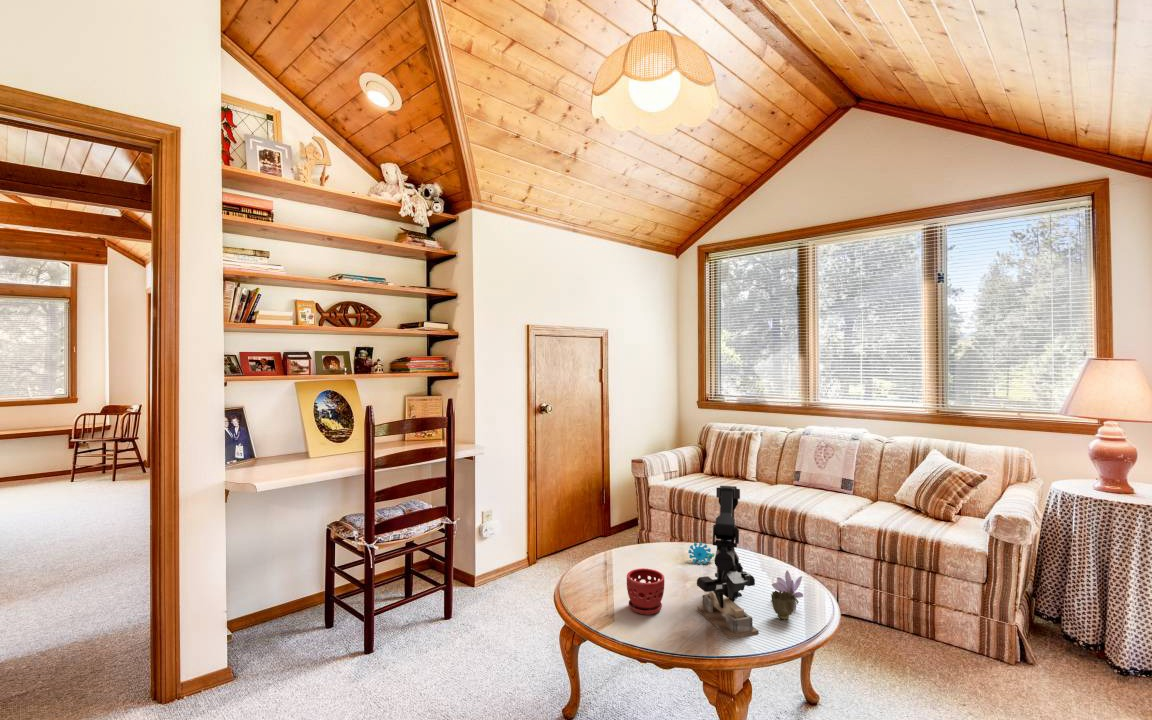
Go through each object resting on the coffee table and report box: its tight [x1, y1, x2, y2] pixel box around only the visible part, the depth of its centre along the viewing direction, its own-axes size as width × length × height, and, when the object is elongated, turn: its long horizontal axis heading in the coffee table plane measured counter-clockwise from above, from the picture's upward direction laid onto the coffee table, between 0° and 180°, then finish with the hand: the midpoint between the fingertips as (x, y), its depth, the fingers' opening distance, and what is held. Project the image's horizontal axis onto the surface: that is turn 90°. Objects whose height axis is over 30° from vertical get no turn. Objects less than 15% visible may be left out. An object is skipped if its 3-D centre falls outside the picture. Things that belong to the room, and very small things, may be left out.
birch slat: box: [709, 591, 745, 619], centre depth 179 cm, size 16×3×4 cm, turn 16°
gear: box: [688, 541, 716, 565], centre depth 235 cm, size 11×6×10 cm
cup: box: [770, 590, 795, 621], centre depth 180 cm, size 8×7×8 cm
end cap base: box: [697, 593, 760, 639], centre depth 179 cm, size 21×10×5 cm, turn 16°
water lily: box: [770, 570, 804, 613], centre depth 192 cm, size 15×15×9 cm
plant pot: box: [626, 567, 665, 615], centre depth 188 cm, size 13×13×12 cm
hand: (726, 607), depth 179 cm, fingers closed on birch slat, 3 cm apart
